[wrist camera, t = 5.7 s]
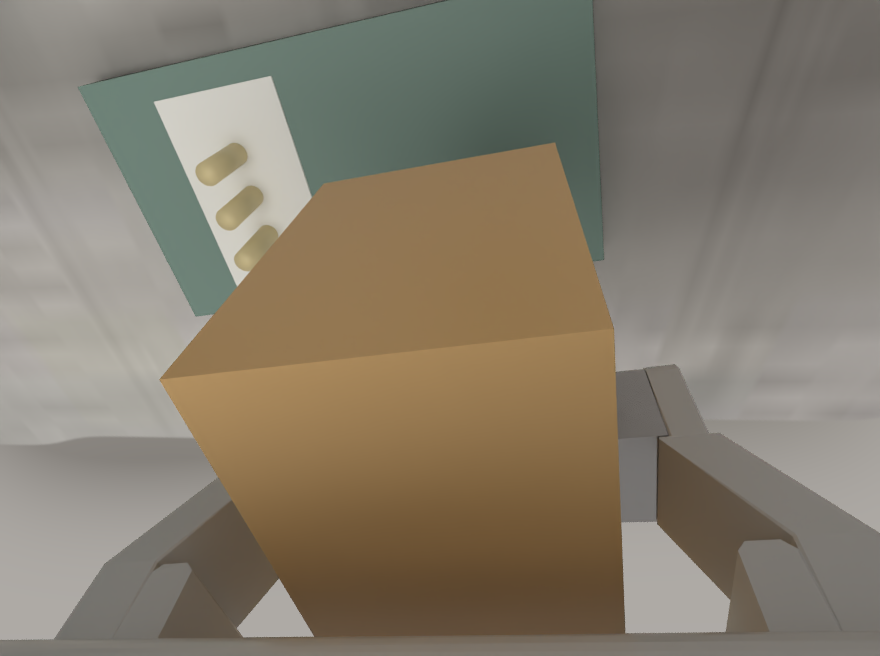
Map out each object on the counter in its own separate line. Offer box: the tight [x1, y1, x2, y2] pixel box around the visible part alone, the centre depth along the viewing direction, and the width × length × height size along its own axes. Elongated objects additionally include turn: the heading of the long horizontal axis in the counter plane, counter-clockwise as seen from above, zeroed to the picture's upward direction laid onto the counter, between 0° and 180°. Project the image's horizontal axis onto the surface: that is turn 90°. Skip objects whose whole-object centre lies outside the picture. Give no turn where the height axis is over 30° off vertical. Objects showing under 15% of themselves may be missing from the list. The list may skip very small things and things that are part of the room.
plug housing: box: [159, 143, 625, 637], centre depth 9 cm, size 4×8×6 cm, turn 12°
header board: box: [78, 0, 604, 316], centre depth 24 cm, size 22×12×5 cm, turn 102°
